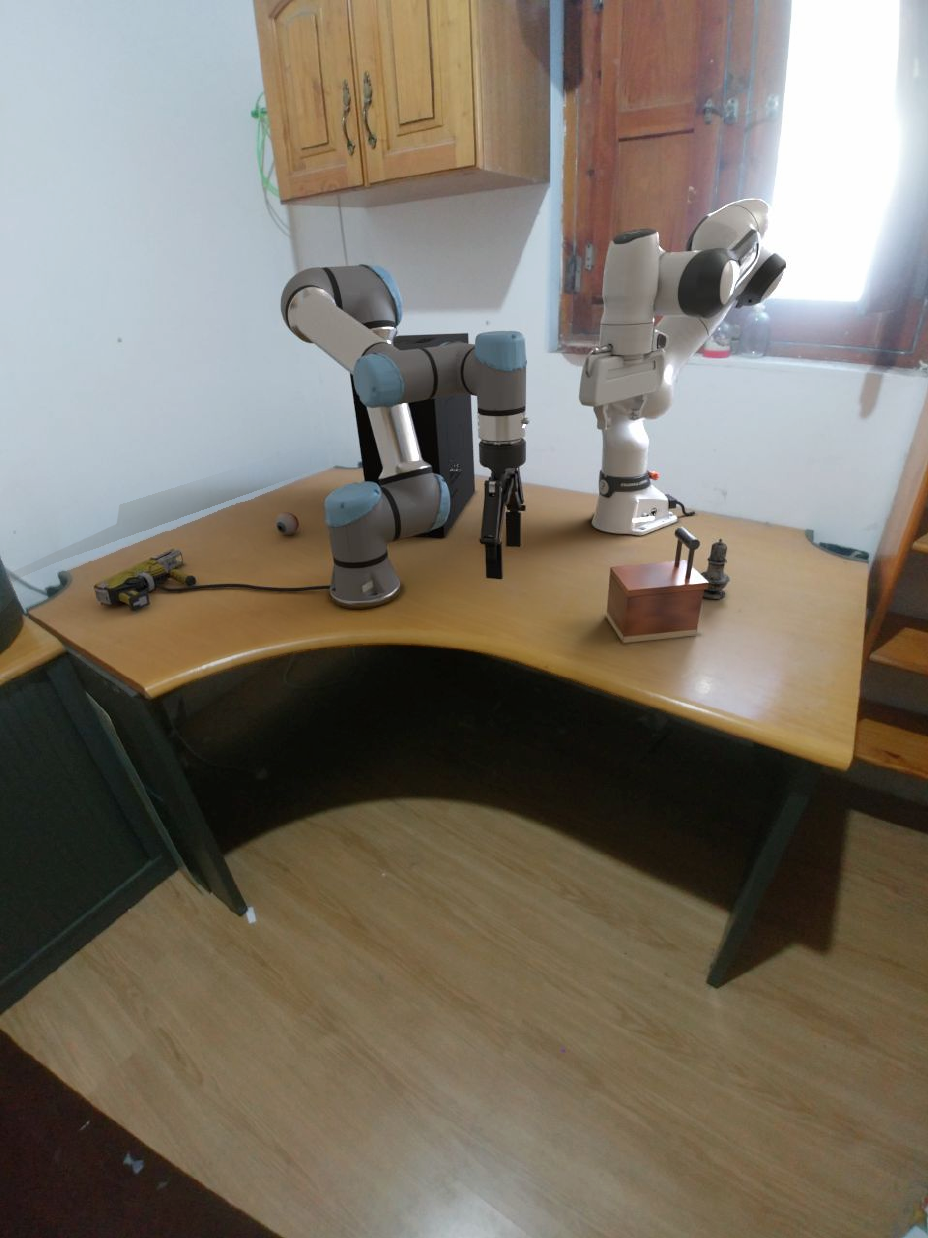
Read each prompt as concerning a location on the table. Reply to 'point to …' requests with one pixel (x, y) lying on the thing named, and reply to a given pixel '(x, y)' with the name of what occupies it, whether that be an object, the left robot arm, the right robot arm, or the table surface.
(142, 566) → the toy gun
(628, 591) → the lid
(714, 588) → the grey chess piece
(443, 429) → the cardboard box
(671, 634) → the chest
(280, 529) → the eyeball
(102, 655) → the table surface
